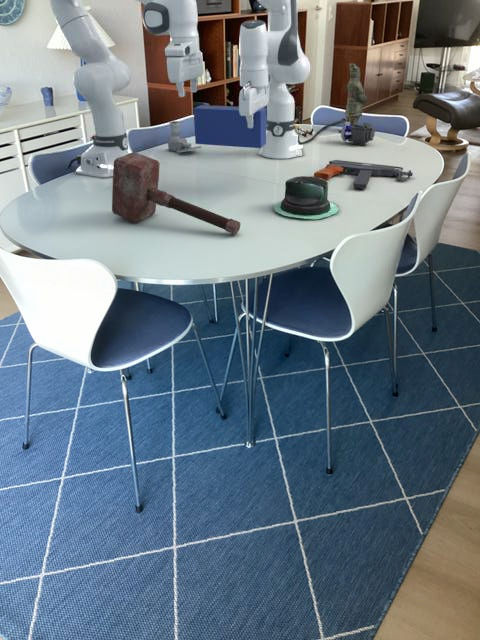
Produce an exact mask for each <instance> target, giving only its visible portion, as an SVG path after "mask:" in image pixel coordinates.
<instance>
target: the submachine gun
mask: <svg viewBox="0 0 480 640" xmlns="http://www.w3.org/2000/svg"><path fill="white" fill-rule="evenodd" d="M403 170H404V167H402V166H397V165H396V166H394V165H385V164H376V163H369V162H368V163H367V162H361V161H360V162H359V161H349V160H343V159H342V160H341V159H333V160H329V161H328V163H327V164H326V166H325V168H323V169H320V170H318V171H315V172H314V173H313V177H317V178H322V179H323V180H325V181H327V180H330V178H332V177H333V176H336V175H341V174H342V175H349V176H350V175H351V176H352V175H357V176H356V178H355V179H354V180H355V181H354V182H353V189H361V190H366V189H367V186H368V184H369V182H370V180H371V177H372V176H375V177H381V176H382V177H383V176H385V177H397V178H396V180H397V181H399V182H406V181H408V180H409V179H410V178H411V177H413V175H414V173H413V172H412V170H411V169H409V170H408V171H403ZM402 176H406V178H402Z"/></svg>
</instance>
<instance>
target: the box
mask: <svg viewBox="0 0 480 640" xmlns="http://www.w3.org/2000/svg"><path fill="white" fill-rule="evenodd" d="M266 120H267V107H263V108H261V109H259V110H258V111H257V112H255V113H254V114H253V122H254V127H253V128H248V123H247V120H246V116H241V115H240V113H239V106H228V105H211V104H209V105H208V104H200V105H198V106H196V107H193V123H194V140H195V142H194V143H195V145H206V146H219V147H233V148H234V147H237V148H251V149H262V147H263V146H264V145H265V144H266Z"/></svg>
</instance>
